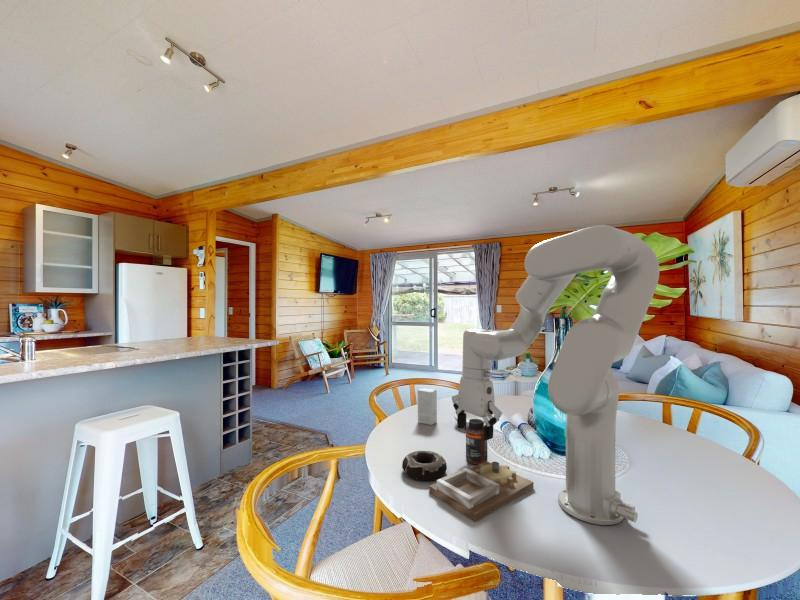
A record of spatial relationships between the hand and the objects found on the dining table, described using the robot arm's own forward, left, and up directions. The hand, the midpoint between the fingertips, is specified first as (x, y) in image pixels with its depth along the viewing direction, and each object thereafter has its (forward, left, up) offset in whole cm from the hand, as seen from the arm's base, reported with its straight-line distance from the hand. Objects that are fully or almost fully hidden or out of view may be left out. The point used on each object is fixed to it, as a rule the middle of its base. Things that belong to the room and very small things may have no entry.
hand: (474, 433), depth 101 cm
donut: (+3, +16, -8) cm, 18 cm away
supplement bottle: (-1, 0, -8) cm, 8 cm away
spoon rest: (+23, -25, -8) cm, 35 cm away
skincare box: (+31, -10, -8) cm, 34 cm away
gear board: (-12, +11, -8) cm, 18 cm away
